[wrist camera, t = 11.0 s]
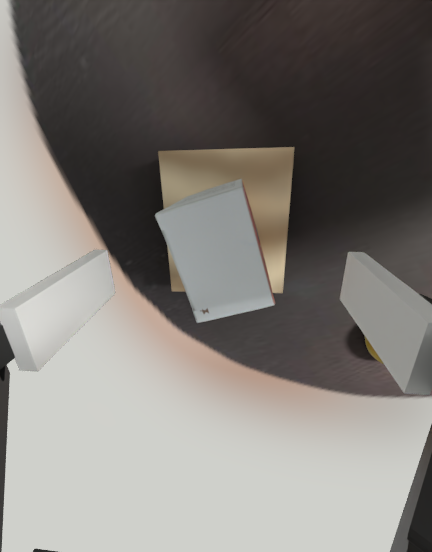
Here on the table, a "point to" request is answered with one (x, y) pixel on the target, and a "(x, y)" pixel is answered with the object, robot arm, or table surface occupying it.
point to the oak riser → (258, 184)
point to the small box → (217, 252)
